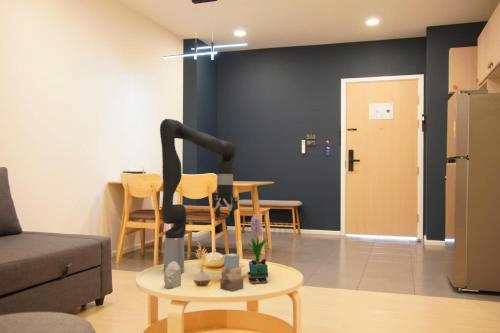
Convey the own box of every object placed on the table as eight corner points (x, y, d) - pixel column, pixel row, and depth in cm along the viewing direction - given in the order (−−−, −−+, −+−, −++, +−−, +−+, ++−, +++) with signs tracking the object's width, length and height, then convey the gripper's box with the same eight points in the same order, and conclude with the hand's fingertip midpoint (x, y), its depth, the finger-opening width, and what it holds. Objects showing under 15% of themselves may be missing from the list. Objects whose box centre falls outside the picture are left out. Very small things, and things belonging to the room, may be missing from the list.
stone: (170, 289, 186) (170, 265, 186) (161, 288, 188) (161, 263, 188) (183, 284, 194) (183, 260, 194) (175, 283, 196) (175, 259, 196)
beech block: (221, 278, 189) (221, 267, 189) (231, 275, 193) (231, 265, 193) (231, 280, 185) (231, 270, 184) (241, 278, 189) (241, 267, 189)
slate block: (224, 267, 189) (224, 254, 189) (231, 265, 192) (231, 253, 192) (232, 269, 186) (232, 256, 186) (239, 267, 189) (239, 254, 189)
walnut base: (220, 288, 188) (220, 278, 188) (231, 285, 194) (231, 275, 194) (232, 292, 184) (232, 281, 184) (243, 288, 189) (243, 278, 189)
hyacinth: (272, 276, 209) (272, 213, 209) (257, 280, 201) (258, 215, 201) (258, 273, 215) (259, 212, 215) (243, 277, 207) (244, 213, 207)
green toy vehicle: (263, 257, 207) (269, 259, 197) (263, 280, 206) (270, 283, 196) (244, 258, 204) (250, 260, 195) (245, 281, 203) (251, 284, 194)
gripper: (208, 183, 207) (208, 217, 207) (230, 184, 198) (230, 220, 198) (219, 182, 213) (219, 216, 213) (241, 183, 204) (241, 218, 204)
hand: (224, 218), depth 205 cm, fingers open, 8 cm apart
